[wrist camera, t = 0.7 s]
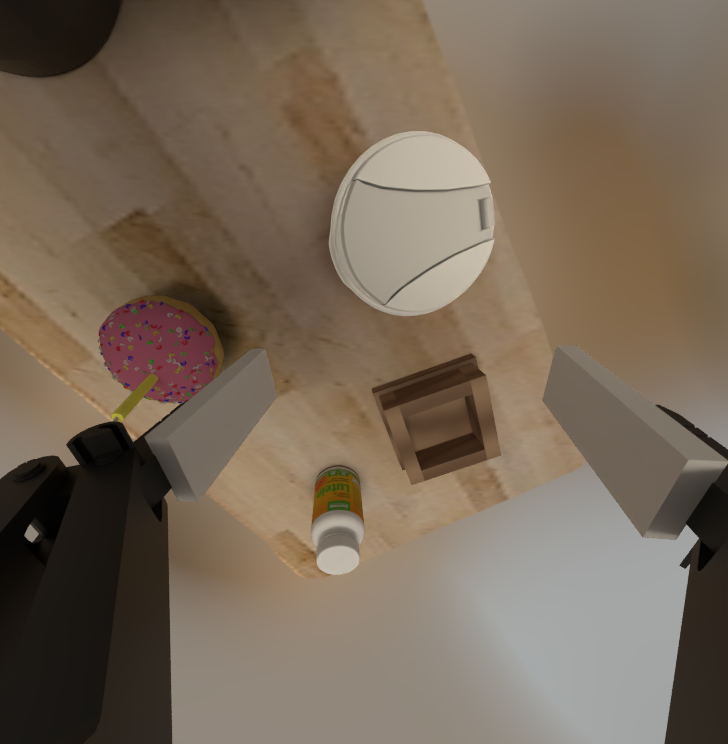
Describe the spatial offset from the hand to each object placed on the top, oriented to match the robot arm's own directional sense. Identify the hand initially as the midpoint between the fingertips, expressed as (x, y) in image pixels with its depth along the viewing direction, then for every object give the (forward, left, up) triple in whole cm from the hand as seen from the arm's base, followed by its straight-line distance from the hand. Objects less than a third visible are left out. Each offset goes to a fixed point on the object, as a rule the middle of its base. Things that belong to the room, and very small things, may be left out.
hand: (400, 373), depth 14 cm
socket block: (+14, +3, -15) cm, 21 cm away
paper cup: (-5, +3, -15) cm, 16 cm away
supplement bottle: (+19, -10, -15) cm, 26 cm away
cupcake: (-3, -16, -15) cm, 23 cm away
